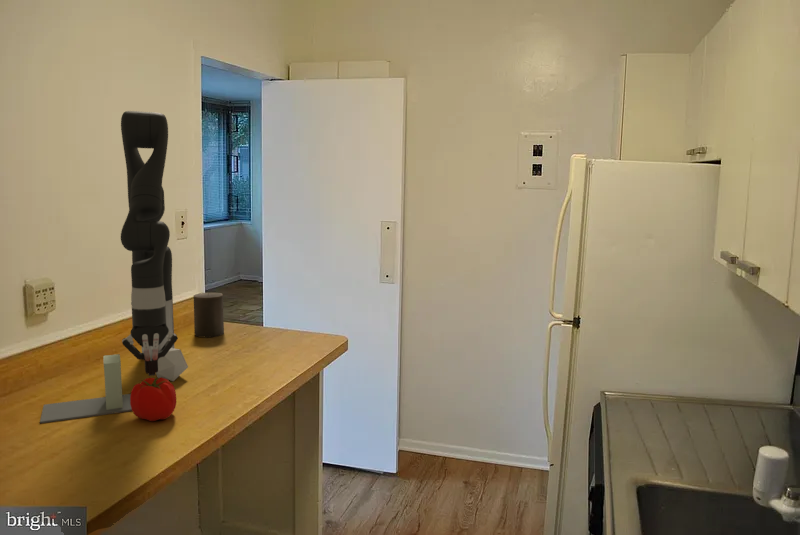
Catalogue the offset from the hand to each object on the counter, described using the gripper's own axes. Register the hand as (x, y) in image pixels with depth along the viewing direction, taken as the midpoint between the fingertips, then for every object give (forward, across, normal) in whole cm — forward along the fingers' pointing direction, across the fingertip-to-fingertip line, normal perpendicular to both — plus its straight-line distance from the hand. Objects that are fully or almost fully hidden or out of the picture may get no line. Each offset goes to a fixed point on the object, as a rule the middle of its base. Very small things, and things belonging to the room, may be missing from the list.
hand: (151, 374), depth 151 cm
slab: (+6, +9, 0) cm, 11 cm away
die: (+7, -6, -16) cm, 18 cm away
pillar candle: (+7, -23, -58) cm, 63 cm away
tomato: (+7, 0, +11) cm, 13 cm away
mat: (+6, +14, 0) cm, 15 cm away
